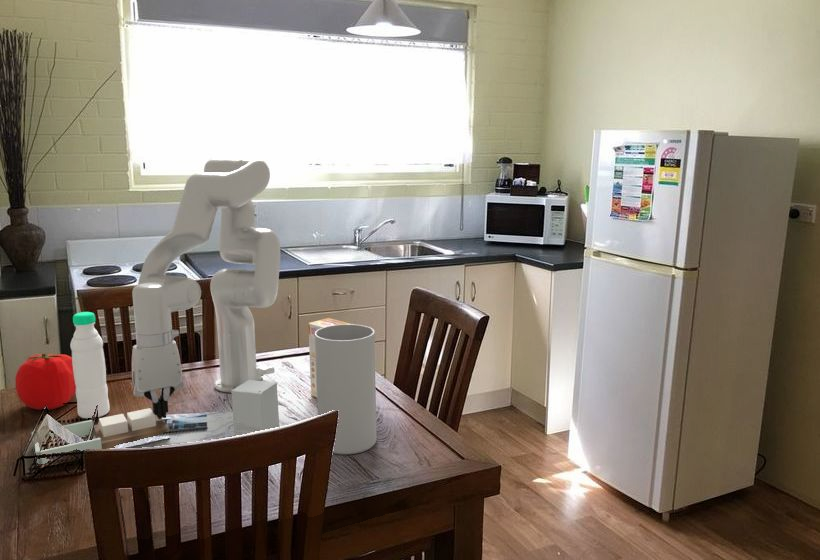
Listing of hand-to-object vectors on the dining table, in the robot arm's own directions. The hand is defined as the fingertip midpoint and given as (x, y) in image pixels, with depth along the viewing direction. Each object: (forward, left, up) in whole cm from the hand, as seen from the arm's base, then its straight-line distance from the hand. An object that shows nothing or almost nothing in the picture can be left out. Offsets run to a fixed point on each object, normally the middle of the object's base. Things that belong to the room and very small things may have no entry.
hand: (161, 416), depth 158 cm
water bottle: (+12, -19, -4) cm, 23 cm away
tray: (+20, 0, -3) cm, 20 cm away
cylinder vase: (-32, +29, -4) cm, 44 cm away
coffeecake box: (-42, +5, -4) cm, 43 cm away
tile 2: (+4, 0, -1) cm, 4 cm away
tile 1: (+10, 0, -1) cm, 10 cm away
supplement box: (-16, +17, -4) cm, 24 cm away
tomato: (+20, -31, -4) cm, 37 cm away
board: (+7, 0, -3) cm, 7 cm away
